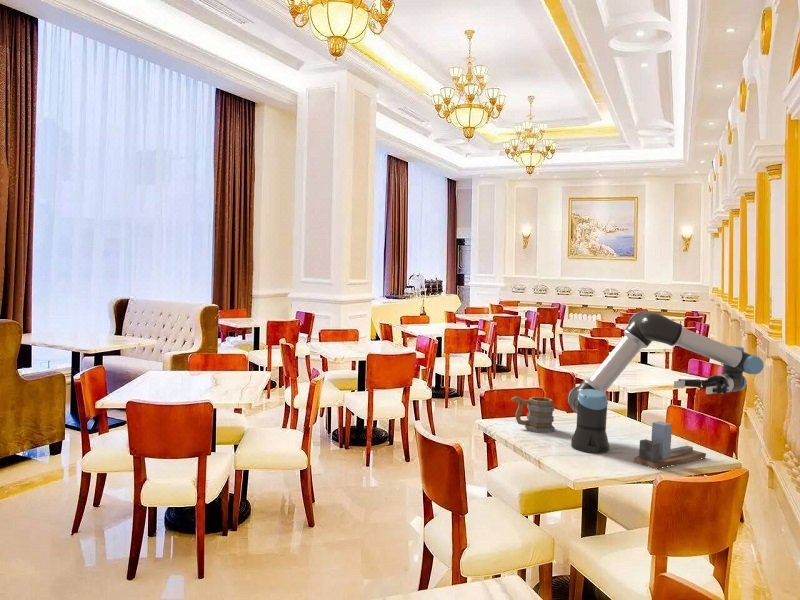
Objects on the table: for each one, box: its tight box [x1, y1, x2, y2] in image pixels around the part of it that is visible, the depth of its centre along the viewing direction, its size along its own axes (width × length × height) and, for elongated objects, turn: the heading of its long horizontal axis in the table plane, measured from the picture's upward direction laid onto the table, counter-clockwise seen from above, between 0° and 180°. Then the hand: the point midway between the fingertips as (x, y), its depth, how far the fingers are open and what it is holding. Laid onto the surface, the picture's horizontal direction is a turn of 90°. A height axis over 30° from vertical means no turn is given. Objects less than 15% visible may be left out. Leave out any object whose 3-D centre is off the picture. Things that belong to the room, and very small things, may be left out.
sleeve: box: [650, 421, 673, 459], centre depth 237 cm, size 5×5×13 cm
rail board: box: [633, 439, 707, 470], centre depth 241 cm, size 10×32×9 cm, turn 123°
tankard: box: [510, 395, 556, 434], centre depth 282 cm, size 20×13×15 cm, turn 89°
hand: (690, 387), depth 246 cm, fingers open, 13 cm apart
